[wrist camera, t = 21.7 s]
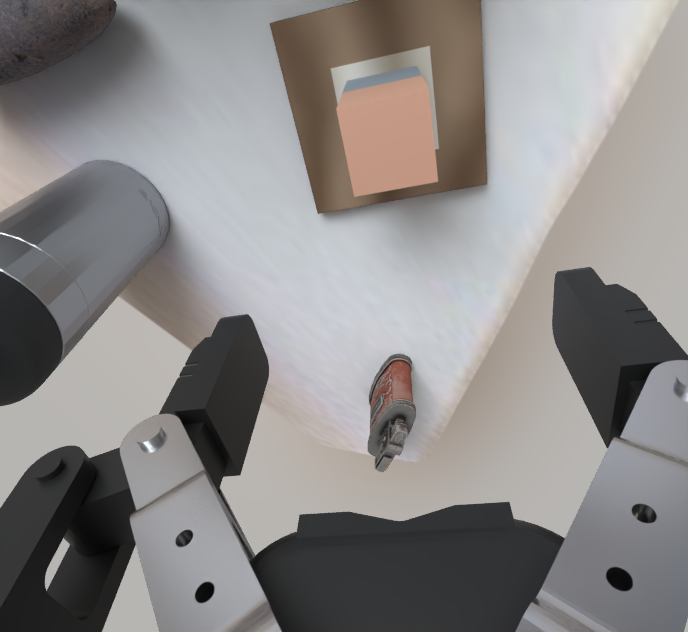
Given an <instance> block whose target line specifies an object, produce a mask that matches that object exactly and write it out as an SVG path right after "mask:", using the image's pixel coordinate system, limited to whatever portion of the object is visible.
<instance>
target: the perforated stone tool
mask: <svg viewBox="0 0 688 632" xmlns="http://www.w3.org/2000/svg"><path fill="white" fill-rule="evenodd" d="M116 7H117V4H116V2H115V1H114V0H0V85H3V84H7V83H10V82H12V81H16V80H19V79H22V78H25V77H27V76H30V75H32V74H35V73H37V72H40V71H42V70H44V69H46V68H48V67H50V66H52V65H54V64H56V63H58V62H60V61H62V60H64V59H65V58H67V57H69V56H70V55H72V54H74V53H75V52H77V51H79V50H80V49H82V48H84V47H85V46H86V45H88V44H89V43H91V42H92V41H93V40H94V39H95V38H96V37H97V36H99V35H100V34H101V32H102V31H103V30H104V29H105V28H106V27H107V26H108V24H109V23H110V21H111V20H112V18H113V16H114V14H115V11H116Z"/></svg>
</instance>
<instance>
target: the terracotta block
mask: <svg viewBox="0 0 688 632" xmlns="http://www.w3.org/2000/svg"><path fill="white" fill-rule="evenodd" d="M336 110H337V115H338V120H339V125H340V130H341V135H342V140H343V145H344V149H345V154H346V159H347V164H348V169H349V174H350V179H351V184H352V188H353V193H354V197H357V196H362V195H368V194H373V193H379V192H384V191H390V190H395V189H401V188H406V187H412V186H417V185H423V184H428V183H434V182H438V175H437V165H436V155H435V145H434V134H433V124H432V114H431V104H430V94H429V88H428V86H427V84H426V82H425V80H424V78H423V76H422V75H421V76H416V77H412V78H407V79H403V80H398V81H394V82H389V83H385V84H380V85H376V86H371V87H367V88H362V89H358V90H353V91H349V92H344V93H342V96H341V98H340V101H339V104H338V106H337V109H336Z"/></svg>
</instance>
